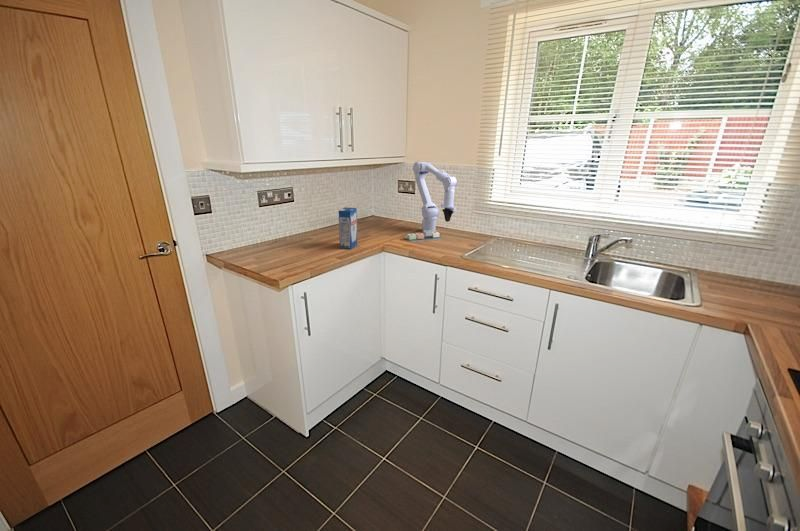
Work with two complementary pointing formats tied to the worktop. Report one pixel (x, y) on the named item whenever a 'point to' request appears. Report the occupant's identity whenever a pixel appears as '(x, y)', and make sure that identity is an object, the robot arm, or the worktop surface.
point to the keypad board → (425, 239)
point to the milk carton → (348, 228)
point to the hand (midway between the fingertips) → (447, 221)
